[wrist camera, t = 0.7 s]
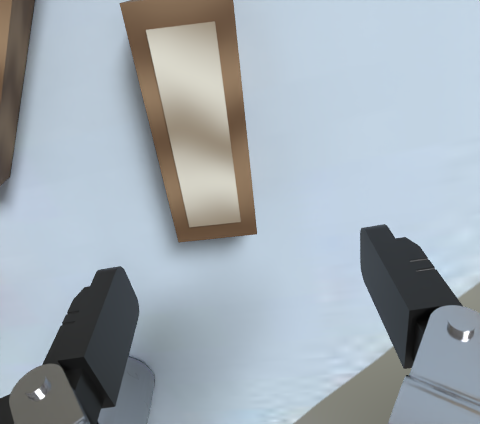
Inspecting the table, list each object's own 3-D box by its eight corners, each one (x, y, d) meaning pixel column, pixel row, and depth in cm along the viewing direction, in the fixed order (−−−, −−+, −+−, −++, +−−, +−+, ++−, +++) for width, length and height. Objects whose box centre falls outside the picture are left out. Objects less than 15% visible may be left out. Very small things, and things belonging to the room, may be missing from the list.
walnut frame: (253, 200, 32) (257, 235, 28) (184, 207, 33) (178, 243, 28) (230, -14, 24) (231, -11, 19) (138, -2, 24) (118, 3, 20)
